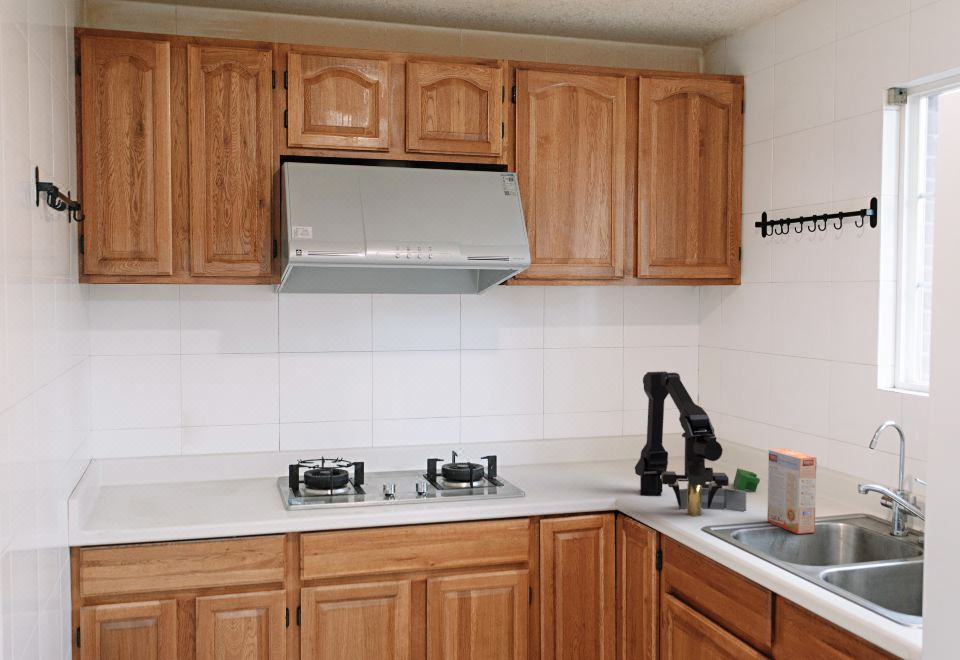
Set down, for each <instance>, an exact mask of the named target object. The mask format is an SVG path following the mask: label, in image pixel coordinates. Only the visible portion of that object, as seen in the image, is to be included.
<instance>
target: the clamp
mask: <svg viewBox="0 0 960 660" xmlns="http://www.w3.org/2000/svg"><path fill="white" fill-rule="evenodd" d="M760 480H761V478H759V477H757V473H755V472H752V471H749V470H745V469H742V468H737V469H736V472H735V477H734V480H733V486H734V489H735V490H742V491H751V492H755V493H756V491H757V489H758V484H760Z"/></svg>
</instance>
